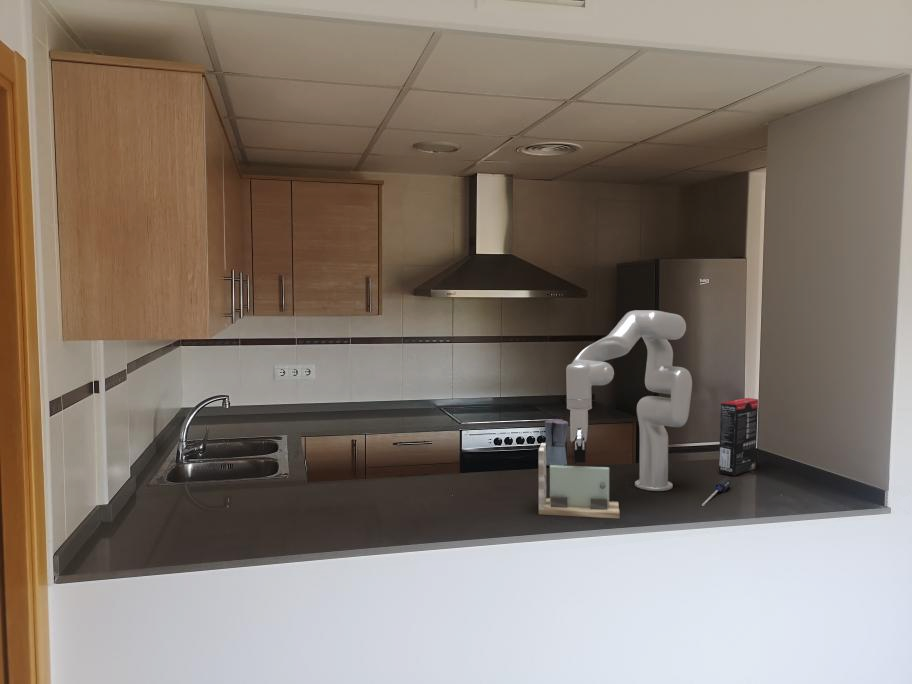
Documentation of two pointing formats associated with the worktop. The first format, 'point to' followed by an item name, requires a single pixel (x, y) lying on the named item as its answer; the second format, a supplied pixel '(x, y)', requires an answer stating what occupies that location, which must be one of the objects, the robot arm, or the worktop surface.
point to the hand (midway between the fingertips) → (580, 458)
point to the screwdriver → (720, 488)
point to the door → (579, 484)
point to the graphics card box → (738, 436)
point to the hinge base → (560, 503)
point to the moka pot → (556, 441)
